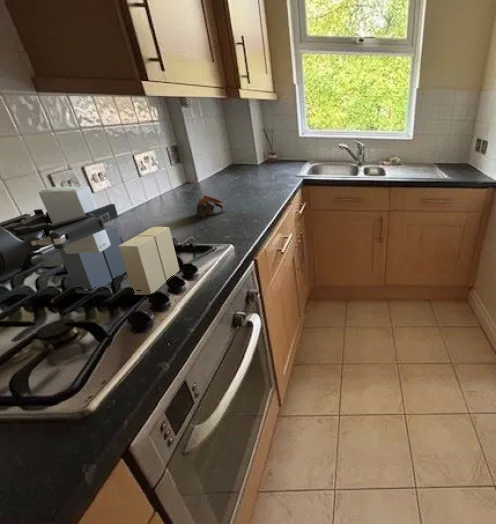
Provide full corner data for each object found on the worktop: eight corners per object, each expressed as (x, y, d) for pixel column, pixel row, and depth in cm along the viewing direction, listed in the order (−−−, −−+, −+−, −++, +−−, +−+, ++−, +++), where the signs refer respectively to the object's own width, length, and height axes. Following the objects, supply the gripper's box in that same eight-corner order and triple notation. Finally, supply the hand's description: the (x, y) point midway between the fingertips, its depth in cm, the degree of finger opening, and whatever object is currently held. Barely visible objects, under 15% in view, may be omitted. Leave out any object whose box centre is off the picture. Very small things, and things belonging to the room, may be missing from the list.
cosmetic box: (112, 245, 67) (92, 185, 62) (99, 254, 63) (76, 190, 58) (77, 246, 66) (54, 185, 61) (62, 255, 62) (36, 191, 57)
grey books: (76, 293, 75) (56, 244, 70) (114, 268, 86) (99, 225, 81) (93, 293, 75) (75, 244, 70) (129, 269, 86) (116, 225, 81)
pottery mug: (193, 213, 132) (200, 194, 132) (218, 221, 137) (224, 202, 137) (195, 214, 122) (202, 192, 122) (221, 222, 127) (228, 202, 127)
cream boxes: (133, 294, 75) (118, 245, 70) (164, 270, 86) (152, 226, 81) (151, 294, 75) (137, 246, 70) (179, 270, 87) (169, 226, 81)
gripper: (-86, 279, 47) (55, 226, 68) (52, 282, 47) (150, 228, 68) (-118, 229, 44) (40, 190, 65) (30, 232, 44) (140, 192, 65)
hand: (96, 210), depth 66 cm, fingers closed on cosmetic box, 6 cm apart
